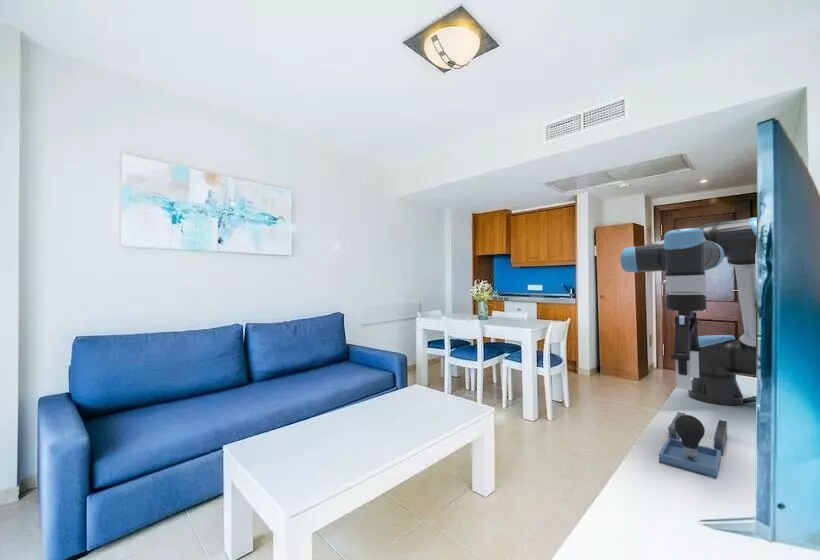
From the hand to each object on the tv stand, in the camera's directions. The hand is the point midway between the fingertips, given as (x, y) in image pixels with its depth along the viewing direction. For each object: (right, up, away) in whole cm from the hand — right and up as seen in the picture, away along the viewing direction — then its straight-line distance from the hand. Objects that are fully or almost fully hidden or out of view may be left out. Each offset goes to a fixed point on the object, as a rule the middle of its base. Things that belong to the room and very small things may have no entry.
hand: (688, 382), depth 82 cm
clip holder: (+11, -19, +11) cm, 24 cm away
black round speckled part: (0, -18, -1) cm, 18 cm away
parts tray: (0, -18, -1) cm, 18 cm away
